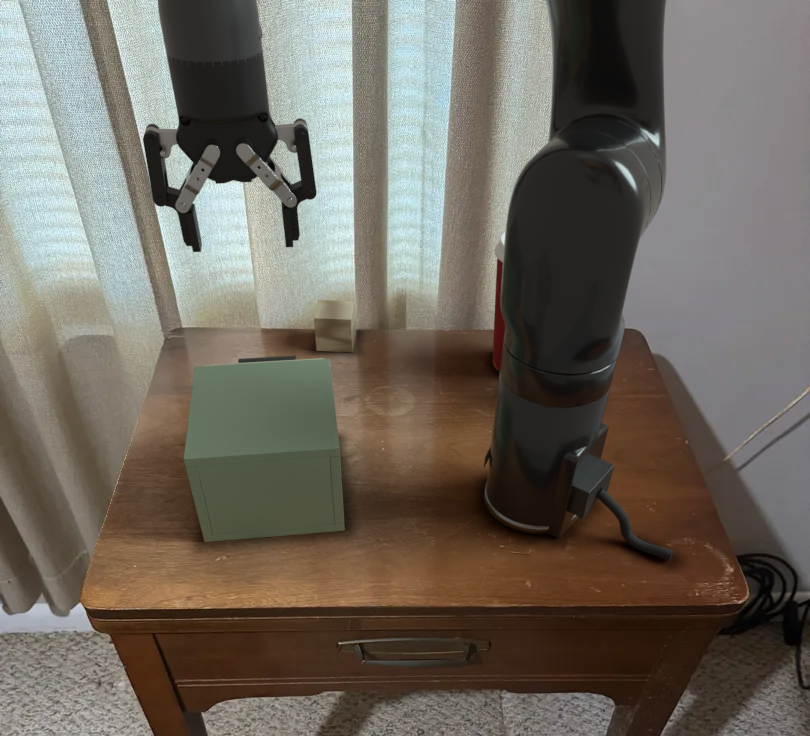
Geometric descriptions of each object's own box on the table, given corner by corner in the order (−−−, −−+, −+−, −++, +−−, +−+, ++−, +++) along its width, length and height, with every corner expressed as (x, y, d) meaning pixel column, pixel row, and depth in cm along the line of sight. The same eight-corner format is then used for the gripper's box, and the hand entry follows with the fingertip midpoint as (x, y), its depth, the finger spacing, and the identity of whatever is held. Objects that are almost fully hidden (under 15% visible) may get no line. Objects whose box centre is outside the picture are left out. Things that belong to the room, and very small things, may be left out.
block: (355, 333, 95) (354, 300, 91) (352, 352, 91) (351, 319, 88) (320, 332, 95) (318, 299, 92) (316, 351, 92) (313, 318, 88)
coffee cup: (556, 383, 87) (579, 258, 77) (485, 382, 87) (498, 256, 77) (548, 345, 93) (568, 223, 82) (481, 343, 93) (493, 222, 82)
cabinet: (211, 447, 78) (194, 366, 71) (335, 439, 80) (329, 358, 73) (204, 542, 69) (183, 459, 62) (344, 531, 70) (339, 447, 63)
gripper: (114, 60, 56) (163, 269, 68) (306, 54, 58) (322, 259, 69) (126, 36, 61) (169, 233, 73) (302, 31, 63) (317, 225, 74)
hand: (244, 246), depth 71 cm, fingers open, 8 cm apart
